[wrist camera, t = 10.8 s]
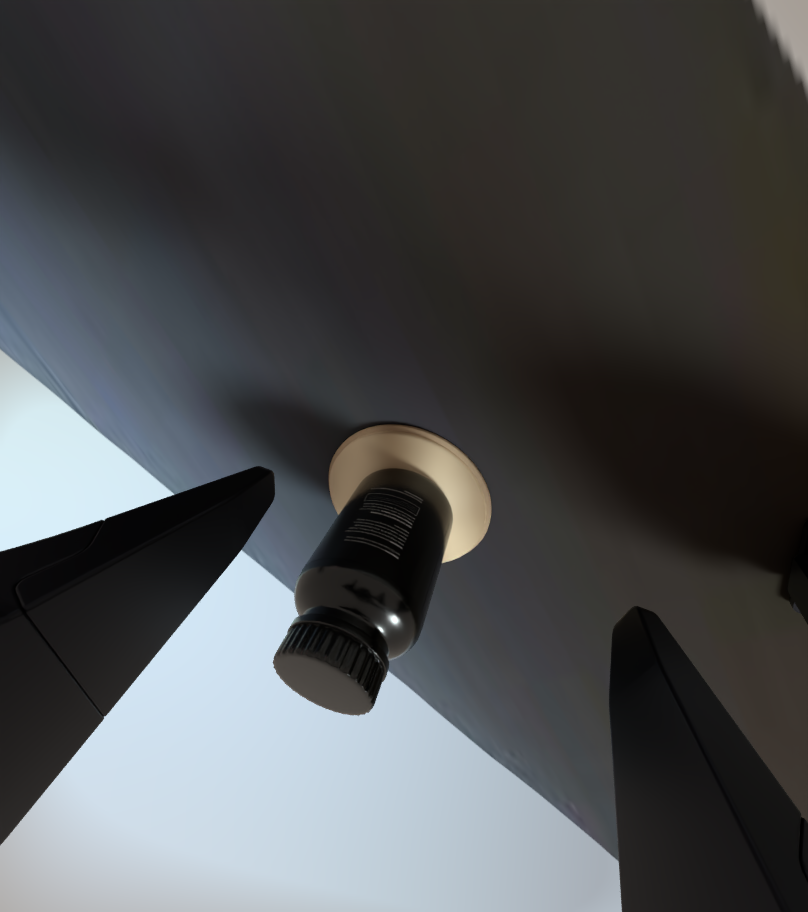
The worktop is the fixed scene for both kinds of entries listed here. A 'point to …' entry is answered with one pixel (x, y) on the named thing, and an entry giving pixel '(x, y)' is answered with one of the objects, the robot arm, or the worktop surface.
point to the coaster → (423, 457)
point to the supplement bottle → (366, 591)
